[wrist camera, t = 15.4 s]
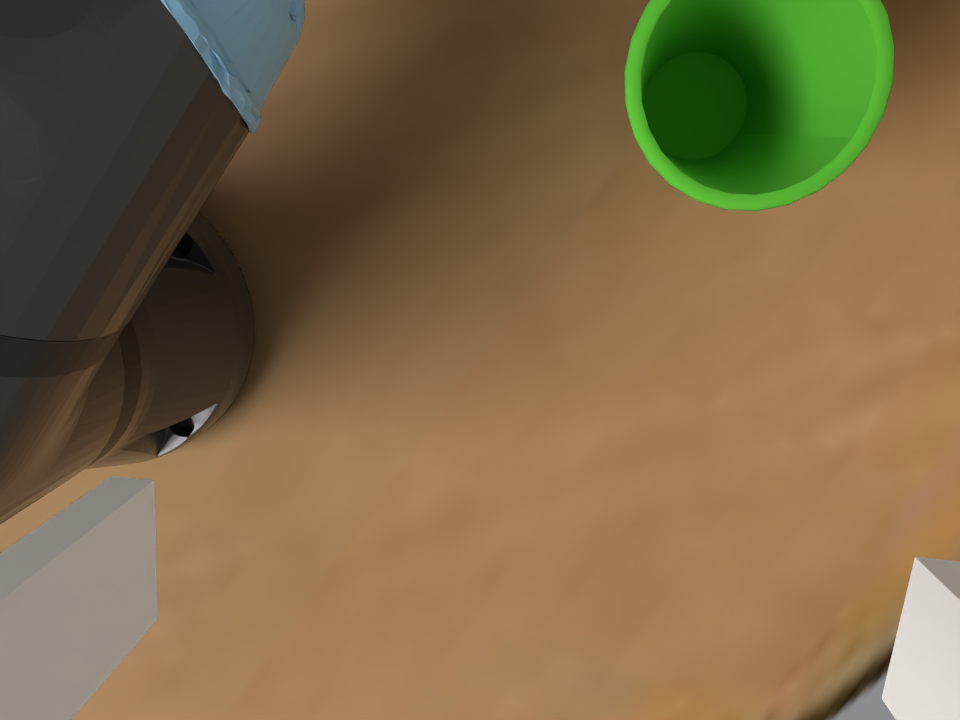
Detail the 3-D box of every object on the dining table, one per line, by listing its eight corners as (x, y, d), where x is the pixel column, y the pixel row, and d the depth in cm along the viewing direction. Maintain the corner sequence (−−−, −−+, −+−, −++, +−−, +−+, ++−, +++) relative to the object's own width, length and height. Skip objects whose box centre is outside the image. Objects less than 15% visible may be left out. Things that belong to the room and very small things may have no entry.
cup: (664, -31, 35) (723, -127, 24) (826, 71, 35) (955, 22, 24) (562, 143, 37) (575, 126, 26) (716, 237, 37) (791, 258, 27)
